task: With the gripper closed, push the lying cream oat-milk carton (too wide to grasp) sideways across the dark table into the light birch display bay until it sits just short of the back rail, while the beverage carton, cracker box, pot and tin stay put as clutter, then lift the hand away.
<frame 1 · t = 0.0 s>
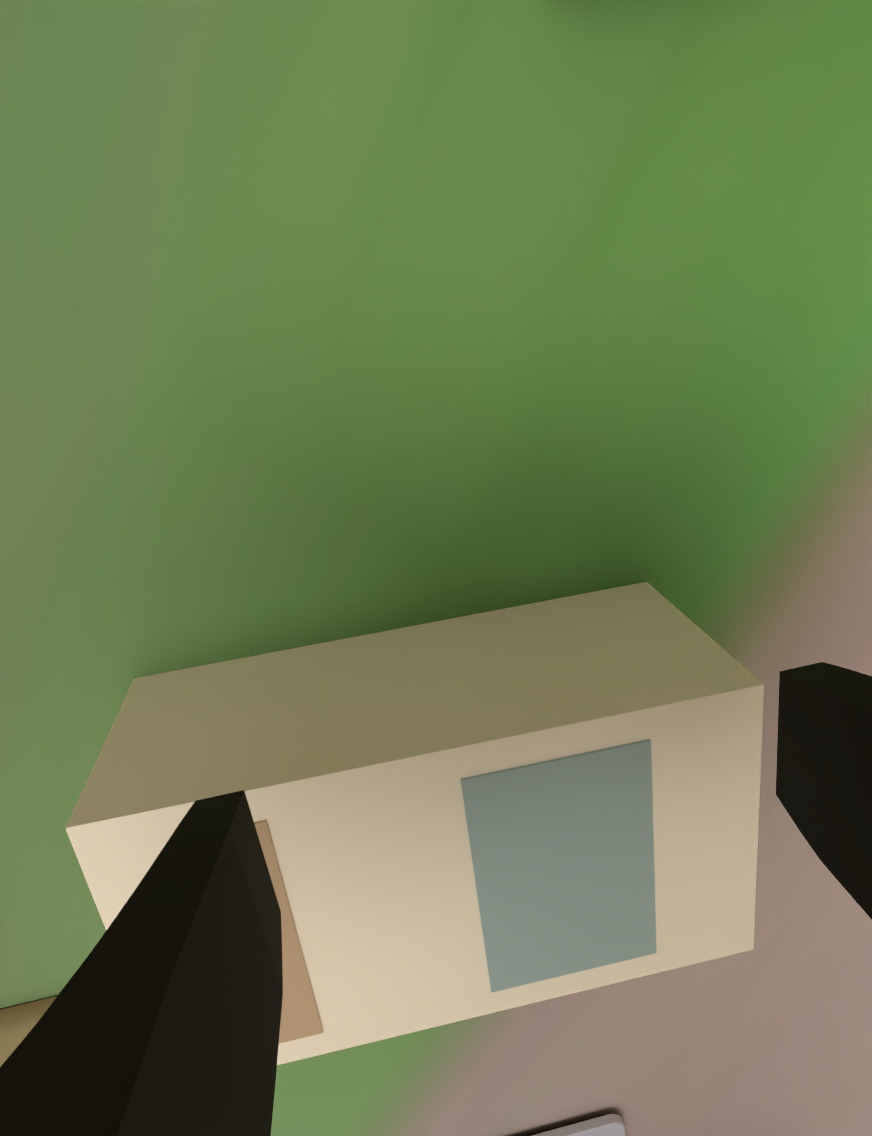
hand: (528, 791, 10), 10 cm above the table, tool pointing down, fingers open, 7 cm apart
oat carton: (417, 739, 21), on the table
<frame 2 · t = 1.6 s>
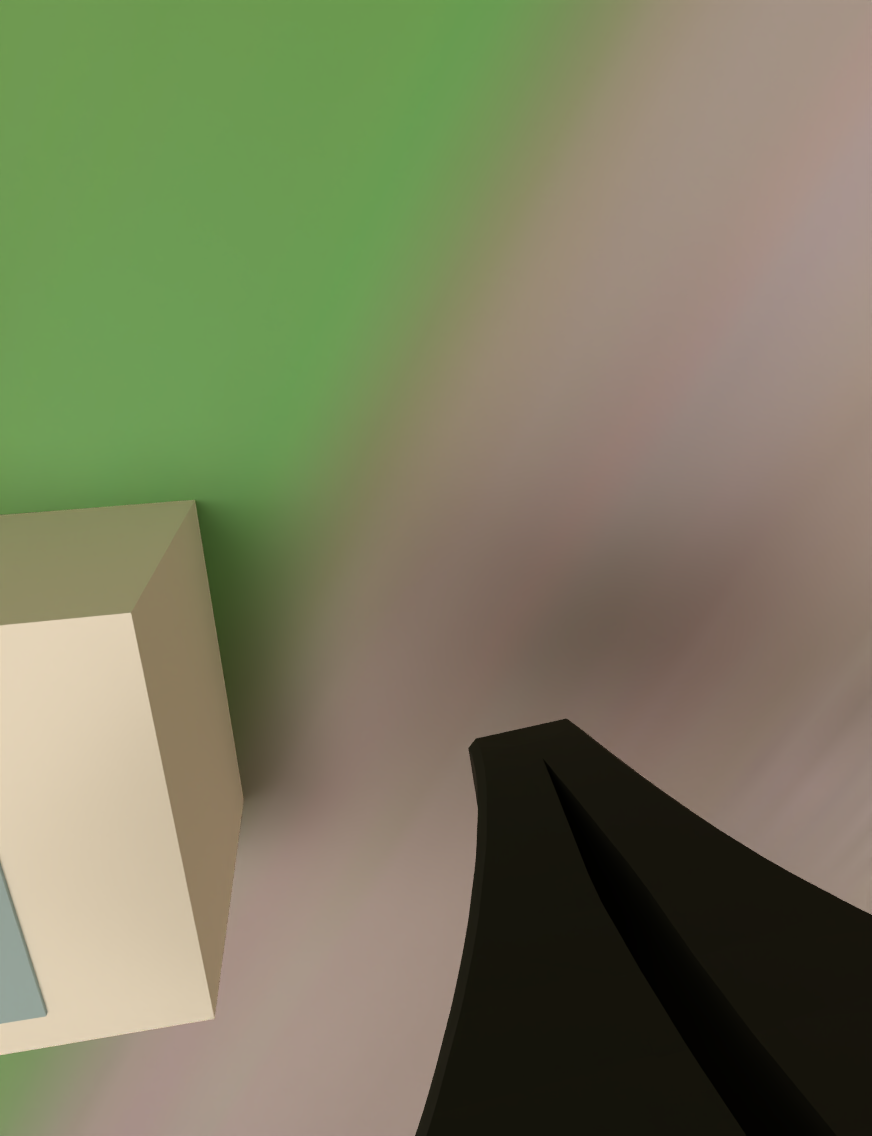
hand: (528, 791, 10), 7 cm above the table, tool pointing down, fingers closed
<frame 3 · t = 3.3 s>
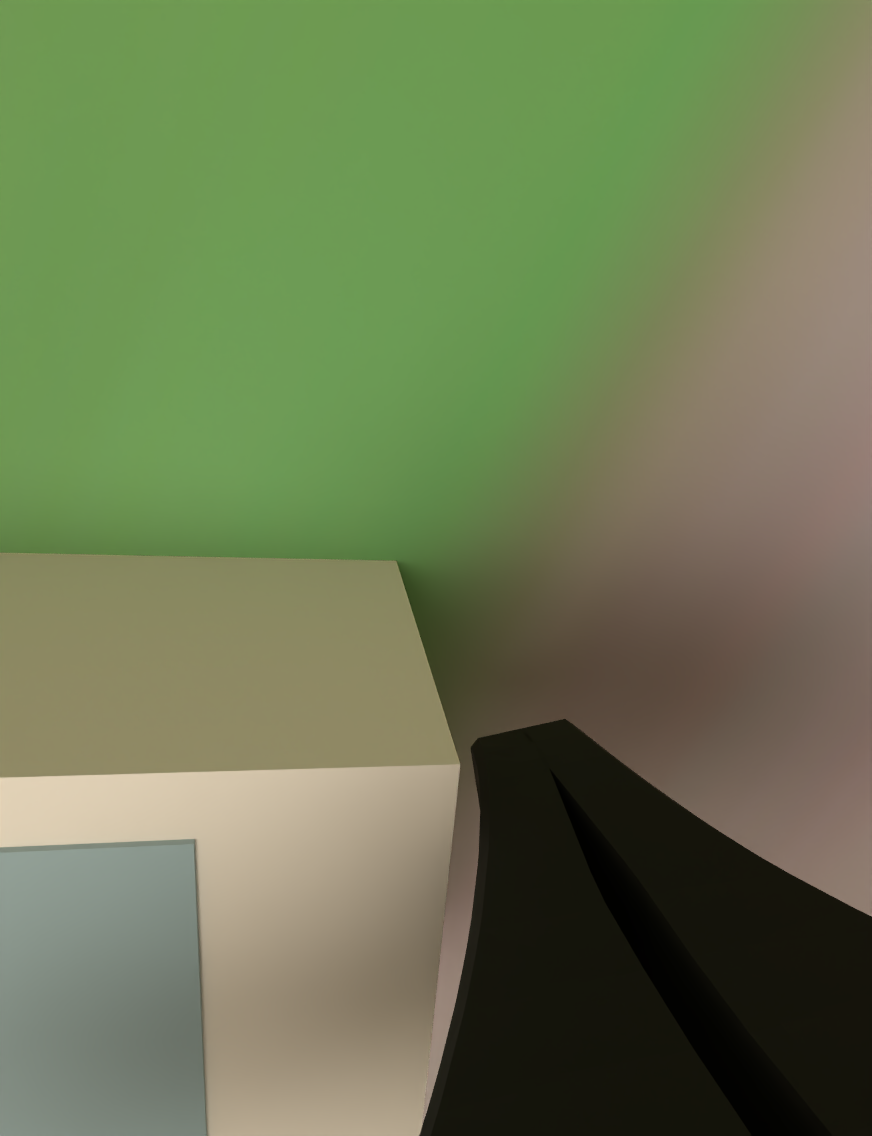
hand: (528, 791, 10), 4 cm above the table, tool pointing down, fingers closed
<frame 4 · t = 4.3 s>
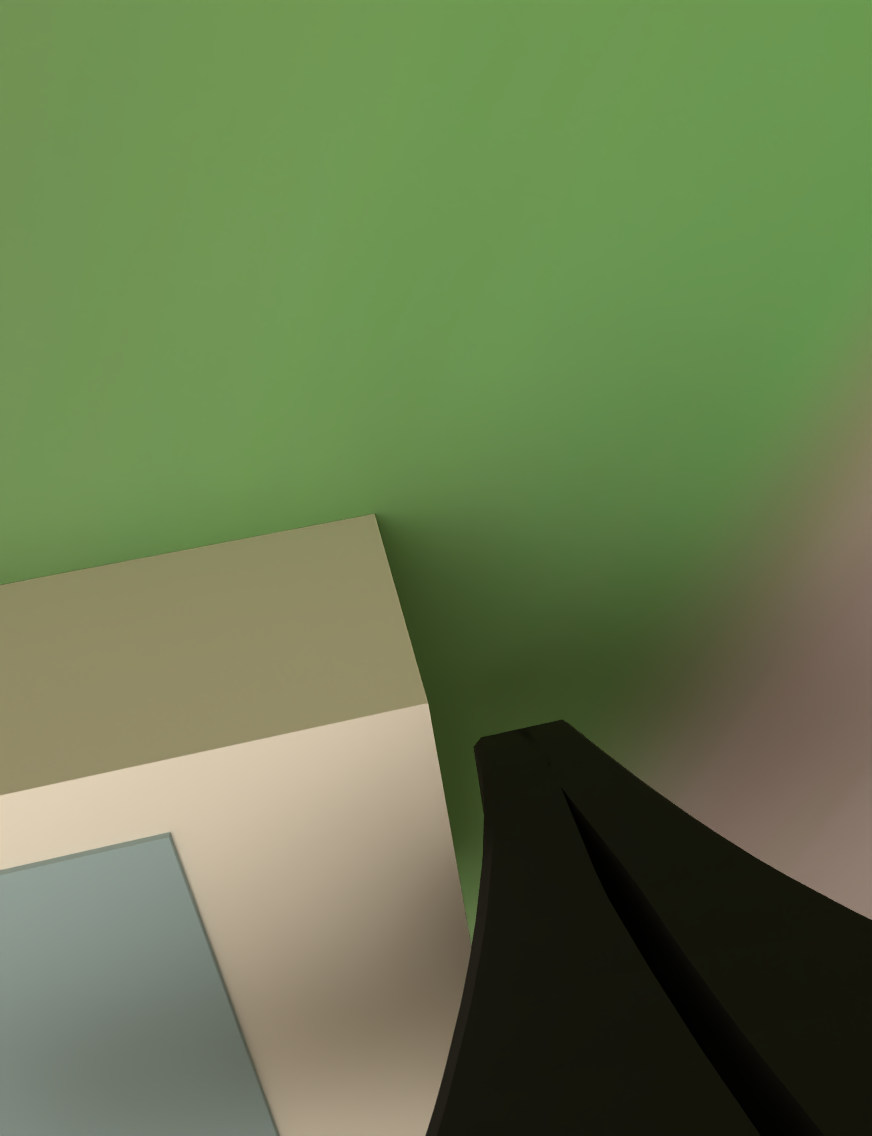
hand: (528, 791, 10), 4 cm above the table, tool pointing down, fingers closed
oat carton: (19, 790, 13), on the table, touching gripper
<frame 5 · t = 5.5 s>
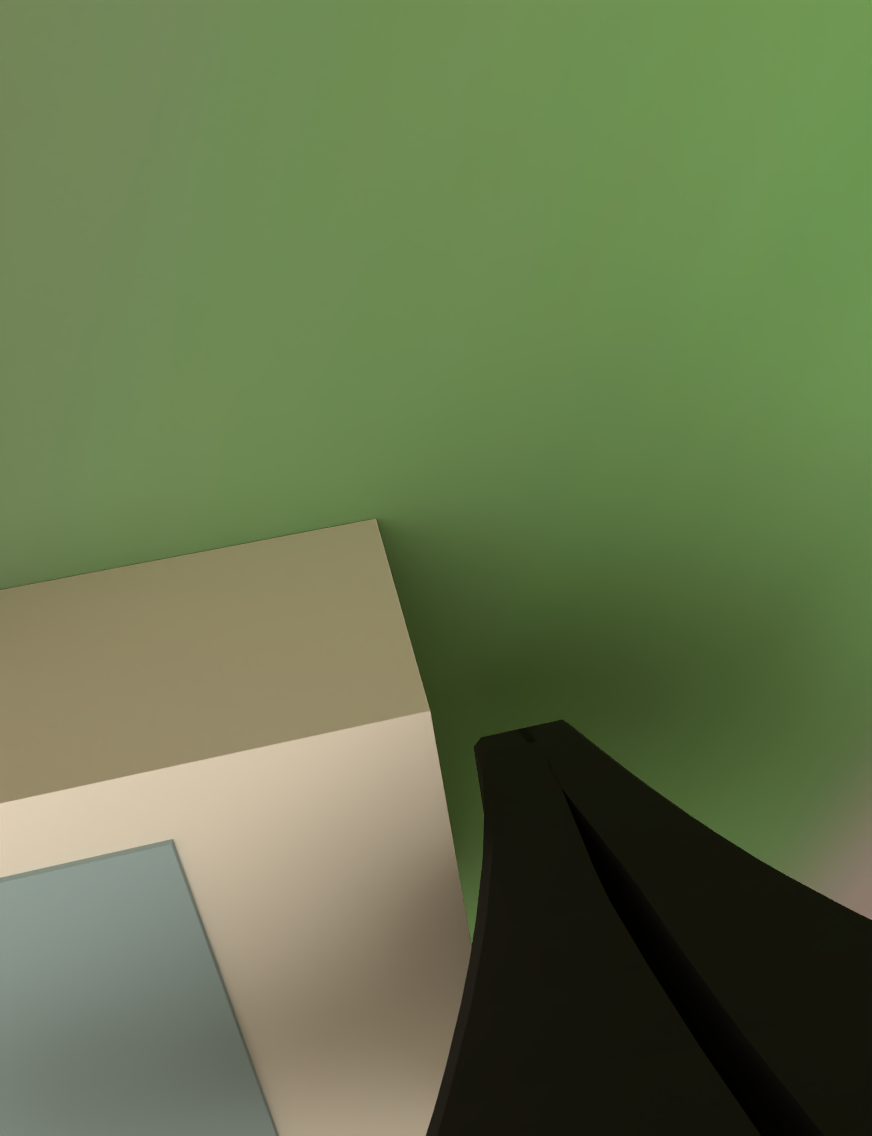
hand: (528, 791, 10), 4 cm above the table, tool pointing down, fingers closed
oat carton: (20, 794, 13), on the table, touching gripper
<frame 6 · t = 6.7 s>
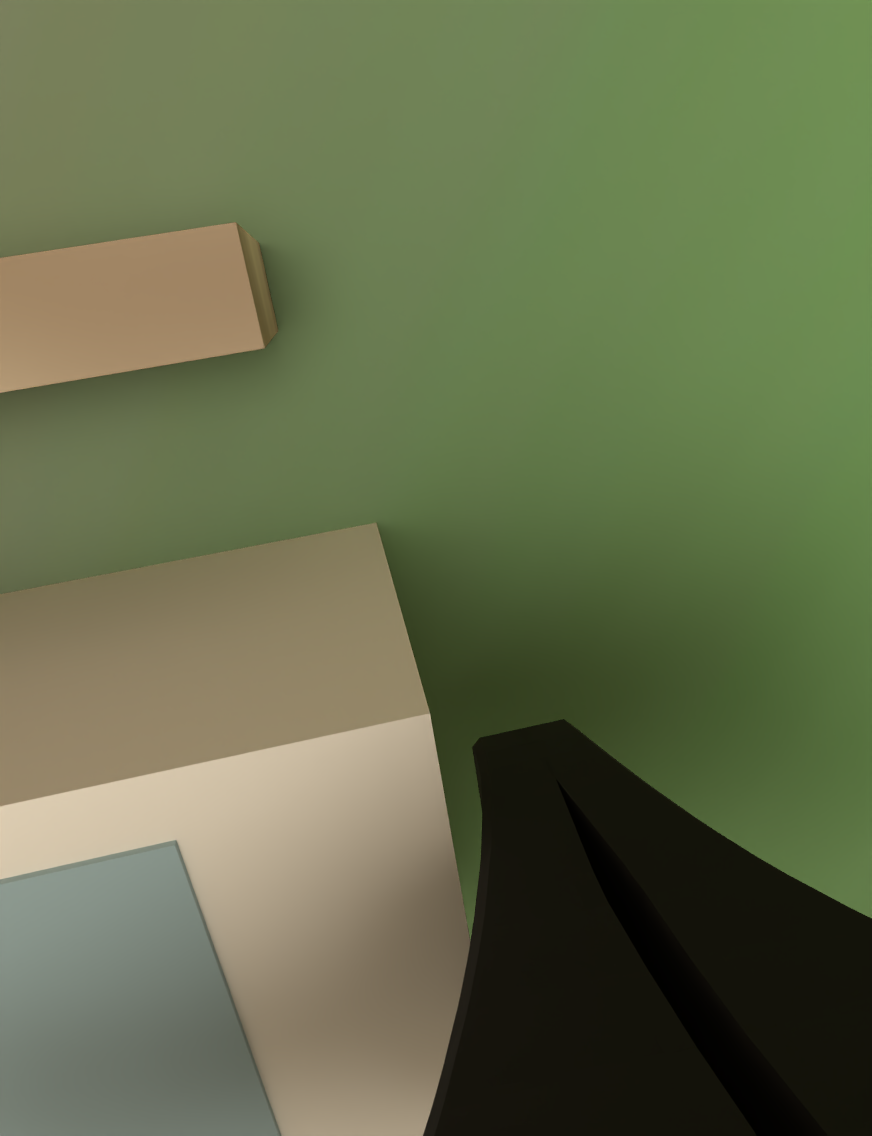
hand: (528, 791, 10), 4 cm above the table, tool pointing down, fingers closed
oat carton: (23, 795, 13), on the table, touching gripper
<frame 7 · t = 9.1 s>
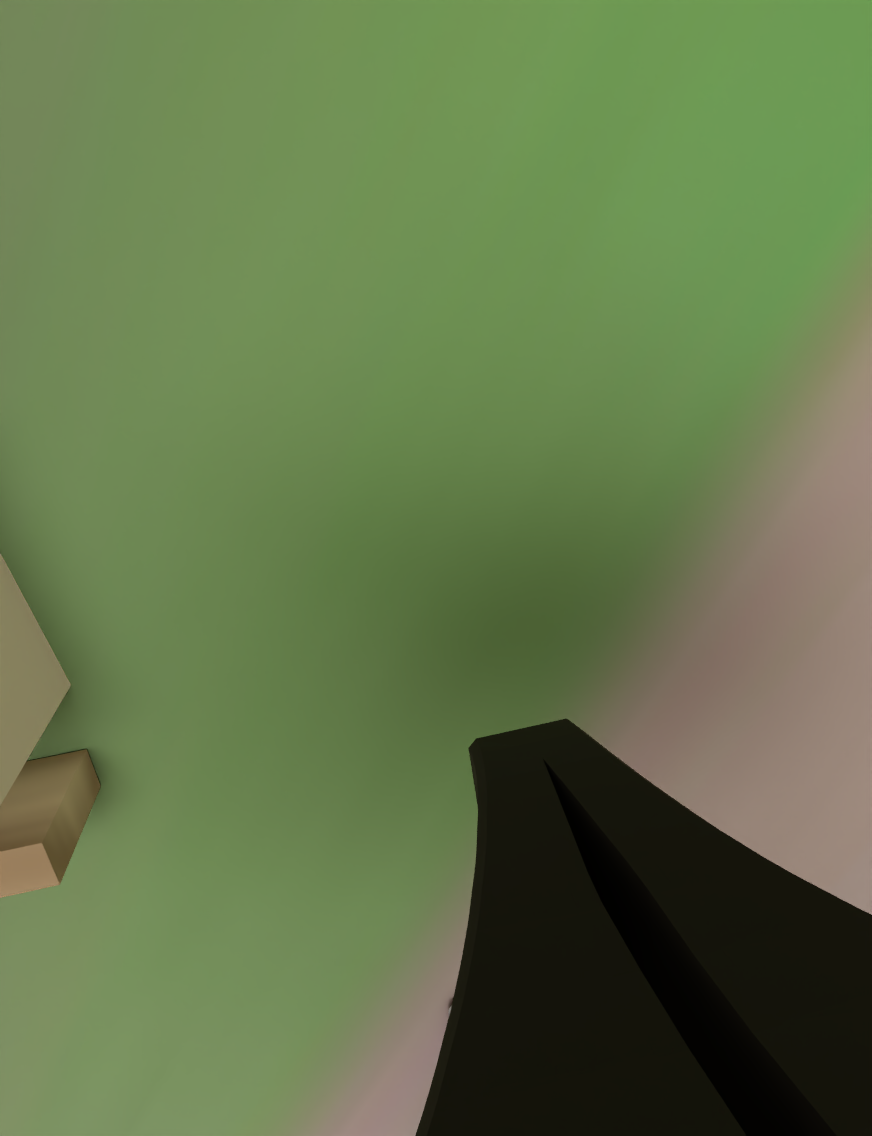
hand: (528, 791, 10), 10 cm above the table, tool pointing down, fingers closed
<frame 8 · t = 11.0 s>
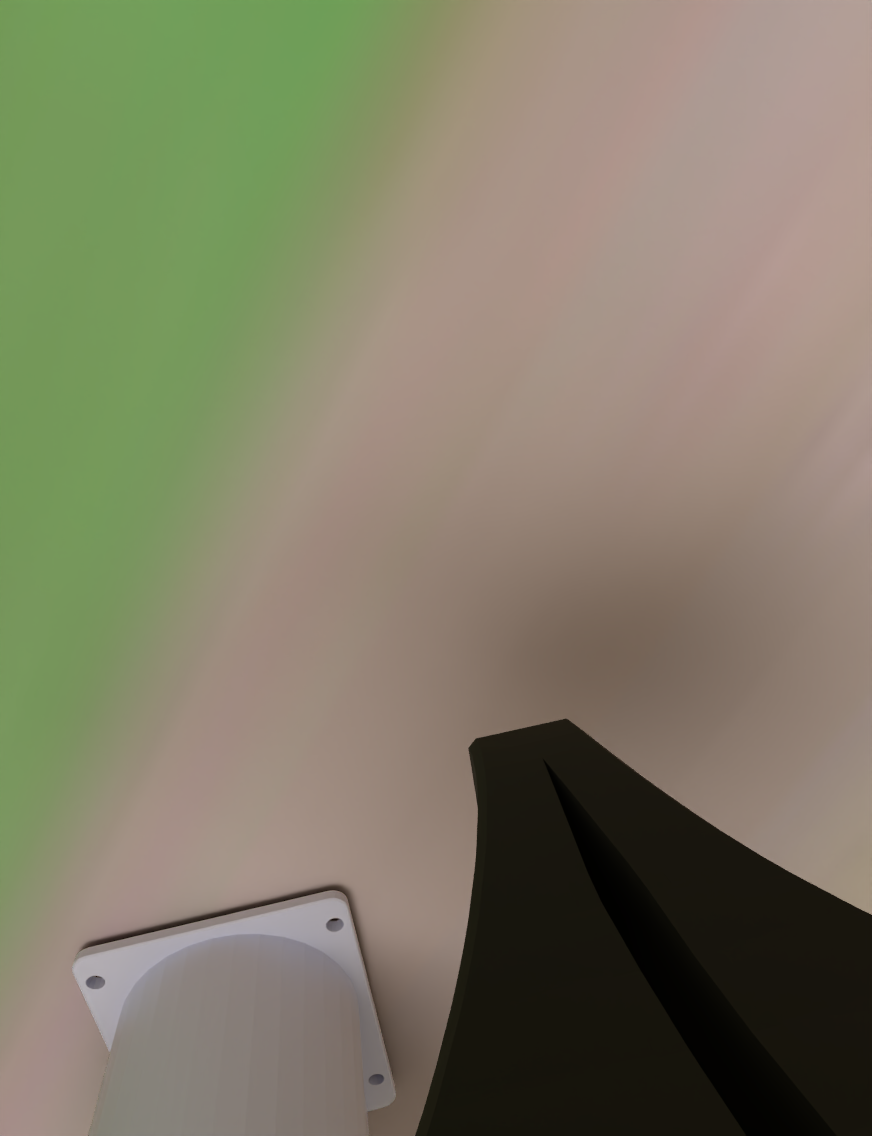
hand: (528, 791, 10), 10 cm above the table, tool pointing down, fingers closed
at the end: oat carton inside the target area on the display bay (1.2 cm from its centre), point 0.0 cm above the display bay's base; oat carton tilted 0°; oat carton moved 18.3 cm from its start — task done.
